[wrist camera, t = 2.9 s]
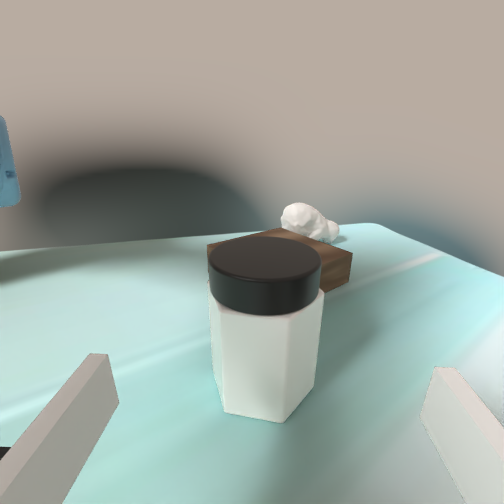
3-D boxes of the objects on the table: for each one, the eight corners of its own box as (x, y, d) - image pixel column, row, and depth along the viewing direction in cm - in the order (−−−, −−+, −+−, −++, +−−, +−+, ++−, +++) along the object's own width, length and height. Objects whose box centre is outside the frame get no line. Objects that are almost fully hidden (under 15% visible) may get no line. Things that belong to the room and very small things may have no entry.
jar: (313, 354, 28) (326, 239, 23) (313, 433, 20) (332, 287, 16) (225, 341, 30) (221, 232, 25) (196, 410, 22) (183, 272, 18)
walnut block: (208, 274, 45) (206, 245, 43) (279, 253, 53) (280, 227, 51) (270, 321, 34) (271, 283, 32) (348, 284, 42) (352, 253, 40)
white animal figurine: (279, 199, 53) (332, 201, 58) (274, 242, 56) (325, 241, 61) (296, 207, 48) (353, 208, 52) (288, 254, 51) (343, 251, 55)
